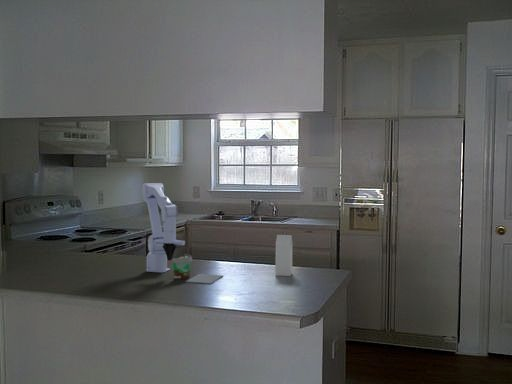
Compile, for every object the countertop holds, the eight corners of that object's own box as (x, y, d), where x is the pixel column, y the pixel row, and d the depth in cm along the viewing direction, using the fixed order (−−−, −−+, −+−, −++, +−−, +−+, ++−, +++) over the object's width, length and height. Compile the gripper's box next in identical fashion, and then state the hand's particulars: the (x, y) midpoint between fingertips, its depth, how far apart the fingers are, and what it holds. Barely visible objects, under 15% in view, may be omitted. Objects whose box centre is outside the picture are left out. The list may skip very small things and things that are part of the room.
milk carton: (290, 276, 250) (290, 236, 249) (275, 275, 251) (275, 235, 250) (292, 273, 257) (292, 234, 256) (277, 272, 258) (278, 233, 257)
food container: (184, 281, 239) (184, 259, 239) (172, 280, 241) (172, 258, 241) (196, 275, 251) (196, 254, 250) (184, 274, 253) (184, 253, 252)
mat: (185, 282, 237) (185, 281, 237) (199, 274, 253) (199, 273, 253) (210, 284, 234) (210, 283, 234) (223, 276, 249) (223, 275, 249)
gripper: (151, 231, 245) (151, 260, 246) (180, 232, 241) (180, 262, 242) (158, 229, 252) (158, 257, 253) (186, 230, 248) (186, 259, 249)
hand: (169, 259), depth 248 cm, fingers closed
